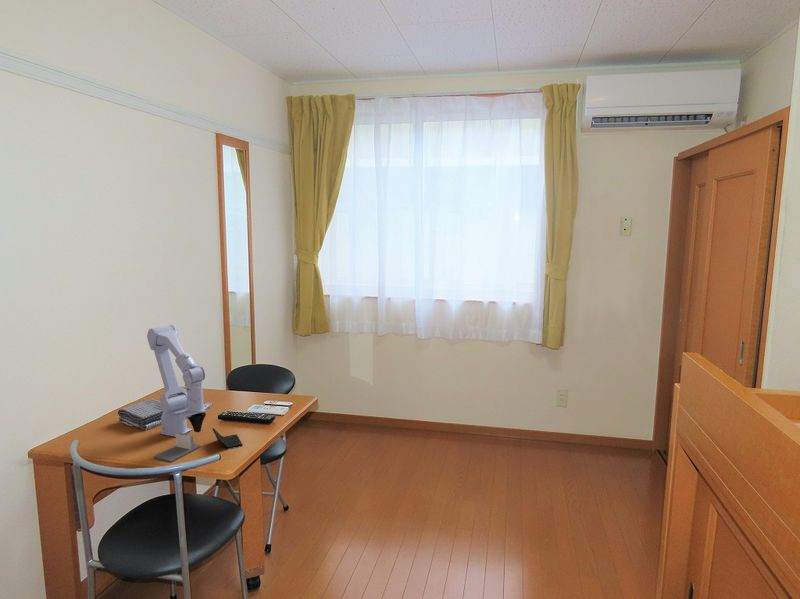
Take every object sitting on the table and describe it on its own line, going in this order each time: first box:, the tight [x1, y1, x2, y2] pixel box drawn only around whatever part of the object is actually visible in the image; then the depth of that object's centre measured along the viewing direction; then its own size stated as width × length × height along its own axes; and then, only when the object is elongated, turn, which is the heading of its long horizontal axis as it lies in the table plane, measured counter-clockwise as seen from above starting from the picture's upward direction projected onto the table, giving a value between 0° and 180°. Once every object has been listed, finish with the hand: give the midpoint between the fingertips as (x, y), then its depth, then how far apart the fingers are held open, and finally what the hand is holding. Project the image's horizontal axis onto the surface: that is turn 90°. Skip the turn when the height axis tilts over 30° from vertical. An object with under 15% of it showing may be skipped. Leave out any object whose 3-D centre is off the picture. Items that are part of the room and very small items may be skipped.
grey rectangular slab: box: [152, 443, 202, 463], centre depth 189 cm, size 9×14×1 cm, turn 157°
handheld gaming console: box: [212, 427, 243, 450], centre depth 196 cm, size 12×7×10 cm
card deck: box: [175, 433, 194, 450], centre depth 192 cm, size 7×2×5 cm, turn 67°
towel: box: [117, 398, 163, 431], centre depth 218 cm, size 15×18×8 cm
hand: (197, 431), depth 197 cm, fingers closed
